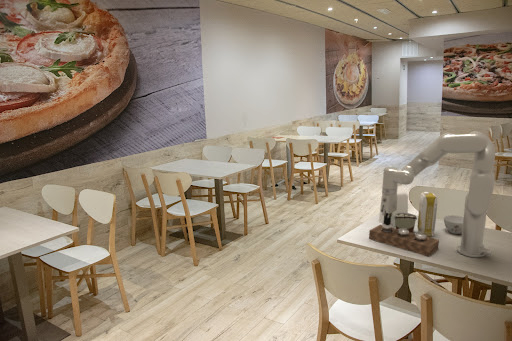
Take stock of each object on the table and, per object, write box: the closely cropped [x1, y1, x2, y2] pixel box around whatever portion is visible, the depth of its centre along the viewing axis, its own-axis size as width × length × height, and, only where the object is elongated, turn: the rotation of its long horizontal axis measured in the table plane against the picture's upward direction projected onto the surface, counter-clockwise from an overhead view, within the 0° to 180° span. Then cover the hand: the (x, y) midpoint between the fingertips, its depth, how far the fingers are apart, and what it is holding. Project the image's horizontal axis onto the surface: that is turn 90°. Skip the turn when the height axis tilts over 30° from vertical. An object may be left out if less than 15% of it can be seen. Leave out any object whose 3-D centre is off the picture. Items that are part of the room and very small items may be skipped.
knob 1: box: [381, 223, 393, 233], centre depth 216 cm, size 5×5×6 cm
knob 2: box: [398, 228, 409, 237], centre depth 210 cm, size 5×5×6 cm
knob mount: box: [368, 224, 440, 257], centre depth 211 cm, size 32×12×5 cm, turn 46°
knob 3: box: [414, 231, 427, 242], centre depth 204 cm, size 5×5×6 cm
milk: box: [378, 183, 409, 228], centre depth 239 cm, size 12×12×26 cm
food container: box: [394, 212, 418, 233], centre depth 228 cm, size 12×6×10 cm, turn 84°
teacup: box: [443, 214, 464, 235], centre depth 225 cm, size 15×12×8 cm
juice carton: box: [417, 191, 438, 238], centre depth 222 cm, size 9×8×24 cm
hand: (386, 224), depth 216 cm, fingers closed
